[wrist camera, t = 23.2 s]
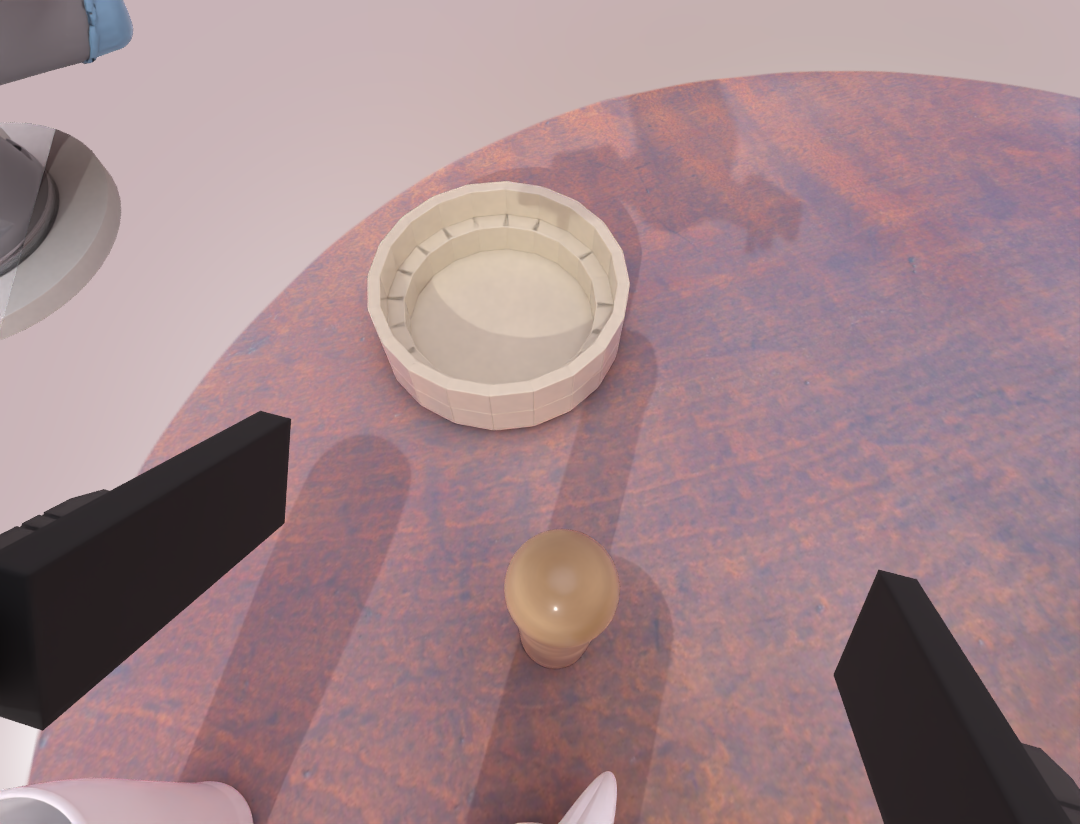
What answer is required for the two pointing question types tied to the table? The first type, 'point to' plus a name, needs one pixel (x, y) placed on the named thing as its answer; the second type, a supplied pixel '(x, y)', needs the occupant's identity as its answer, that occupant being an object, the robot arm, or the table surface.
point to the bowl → (499, 303)
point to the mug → (594, 803)
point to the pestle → (560, 595)
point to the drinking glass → (123, 803)
